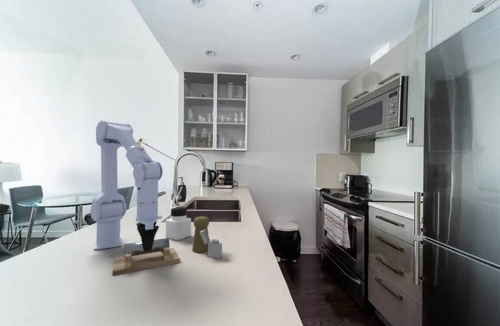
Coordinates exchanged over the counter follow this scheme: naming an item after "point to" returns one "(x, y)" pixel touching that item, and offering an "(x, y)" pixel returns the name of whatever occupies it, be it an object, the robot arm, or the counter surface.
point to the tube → (138, 248)
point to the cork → (198, 242)
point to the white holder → (212, 245)
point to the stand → (144, 261)
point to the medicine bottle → (178, 224)
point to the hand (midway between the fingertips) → (147, 248)
